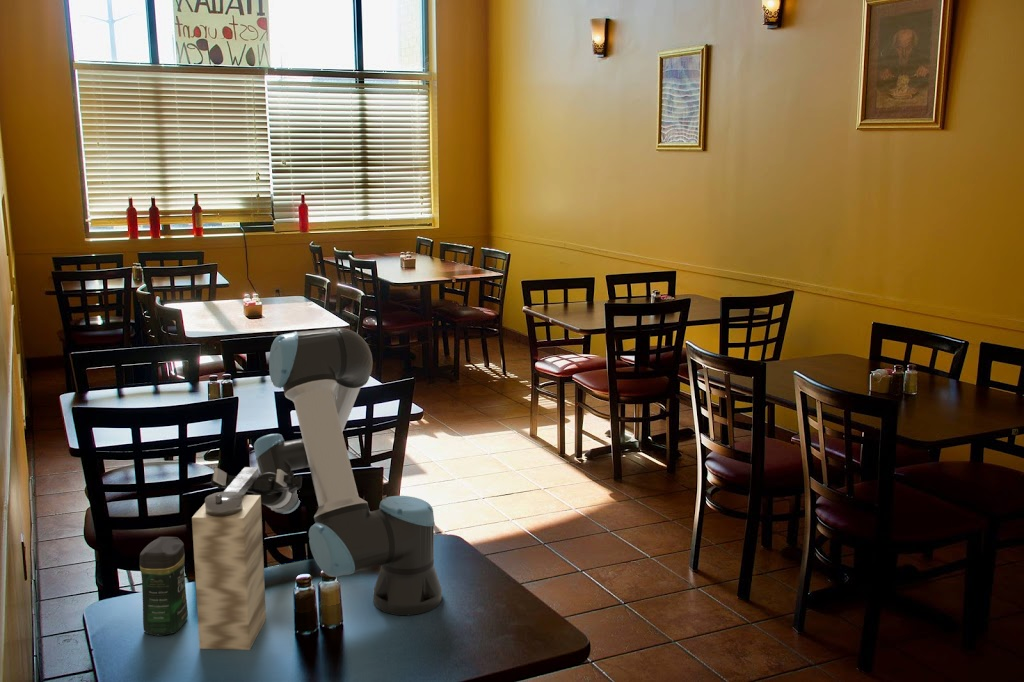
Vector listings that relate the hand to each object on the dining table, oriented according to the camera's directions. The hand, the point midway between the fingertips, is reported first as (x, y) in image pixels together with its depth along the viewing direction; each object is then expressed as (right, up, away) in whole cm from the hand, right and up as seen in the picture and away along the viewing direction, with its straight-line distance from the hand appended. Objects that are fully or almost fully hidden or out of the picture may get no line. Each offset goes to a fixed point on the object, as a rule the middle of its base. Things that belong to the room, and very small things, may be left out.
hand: (246, 474), depth 196 cm
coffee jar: (-15, -31, -6) cm, 35 cm away
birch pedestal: (0, -32, -8) cm, 33 cm away
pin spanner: (0, -3, -9) cm, 9 cm away
